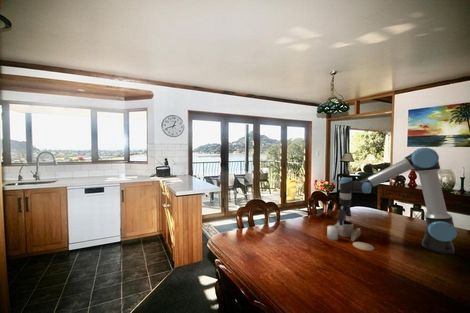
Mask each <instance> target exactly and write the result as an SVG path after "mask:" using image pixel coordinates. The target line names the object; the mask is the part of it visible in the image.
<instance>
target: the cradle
mask: <svg viewBox="0 0 470 313" xmlns="http://www.w3.org/2000/svg"><path fill="white" fill-rule="evenodd" d="M332 226H336V227H337V223H335V224H334V225H332ZM359 237H361V228H359V227H358V228H357V227H356V228H355V229H353V232H352V233H351V237H350V240H351V241H352V242H356V240H358V238H359Z"/></svg>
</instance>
